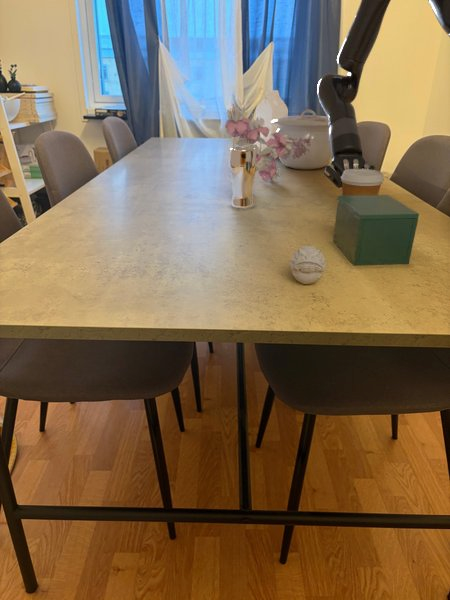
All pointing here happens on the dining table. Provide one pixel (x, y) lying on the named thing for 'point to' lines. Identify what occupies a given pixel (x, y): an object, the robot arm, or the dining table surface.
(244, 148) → the beer glass
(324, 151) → the chamber pot
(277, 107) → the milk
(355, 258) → the green box
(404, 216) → the bread bin lid
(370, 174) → the disposable coffee cup
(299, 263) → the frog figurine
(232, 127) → the flower
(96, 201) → the dining table surface
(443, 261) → the dining table surface
